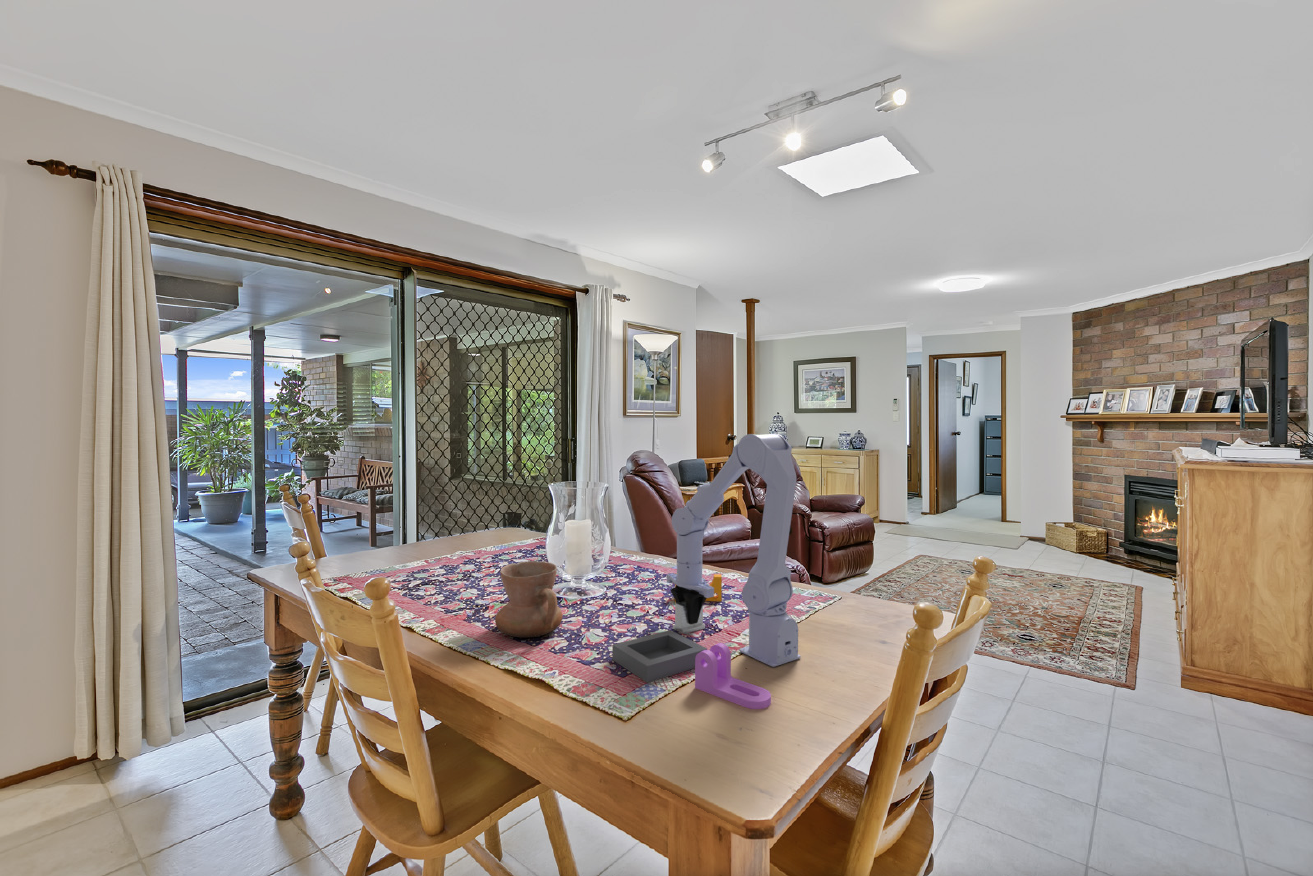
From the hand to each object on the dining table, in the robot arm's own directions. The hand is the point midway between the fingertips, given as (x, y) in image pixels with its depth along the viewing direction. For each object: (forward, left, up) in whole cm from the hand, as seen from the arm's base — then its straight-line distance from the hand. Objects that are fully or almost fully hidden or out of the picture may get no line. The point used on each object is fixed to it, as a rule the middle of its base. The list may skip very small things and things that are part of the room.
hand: (689, 621), depth 133 cm
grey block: (0, 0, -2) cm, 2 cm away
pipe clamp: (+15, -15, -2) cm, 21 cm away
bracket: (-29, +13, -2) cm, 32 cm away
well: (-11, +16, -2) cm, 19 cm away
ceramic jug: (+18, +30, -2) cm, 35 cm away
